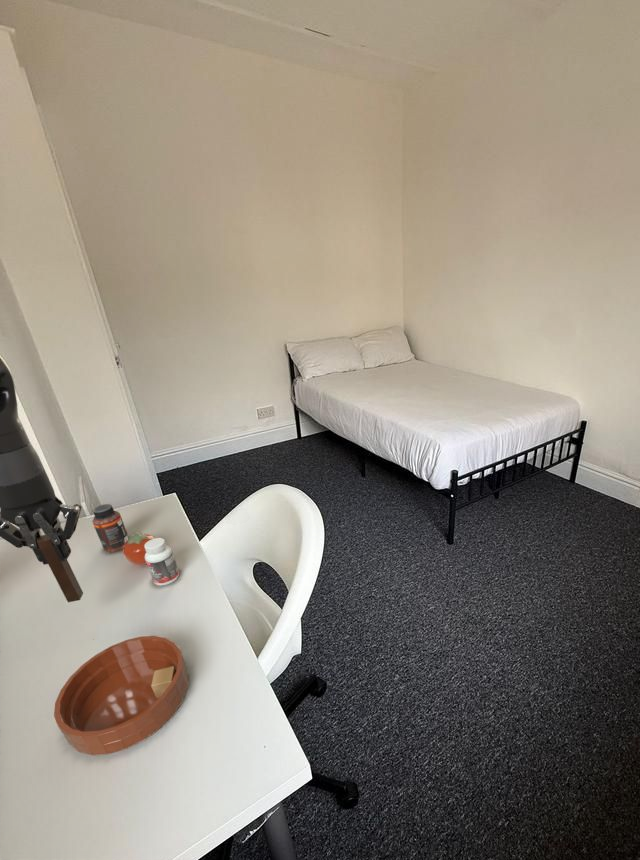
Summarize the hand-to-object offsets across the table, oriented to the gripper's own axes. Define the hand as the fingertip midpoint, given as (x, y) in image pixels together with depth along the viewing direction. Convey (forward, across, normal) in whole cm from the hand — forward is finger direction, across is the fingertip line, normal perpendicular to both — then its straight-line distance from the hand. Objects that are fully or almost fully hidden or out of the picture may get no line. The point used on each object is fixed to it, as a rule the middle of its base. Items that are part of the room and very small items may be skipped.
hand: (56, 559), depth 74 cm
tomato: (+16, -7, -19) cm, 26 cm away
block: (+16, -18, +21) cm, 31 cm away
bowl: (+16, -12, +21) cm, 29 cm away
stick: (+9, 0, 0) cm, 9 cm away
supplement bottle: (+16, +2, -28) cm, 33 cm away
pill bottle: (+16, -13, -10) cm, 23 cm away
